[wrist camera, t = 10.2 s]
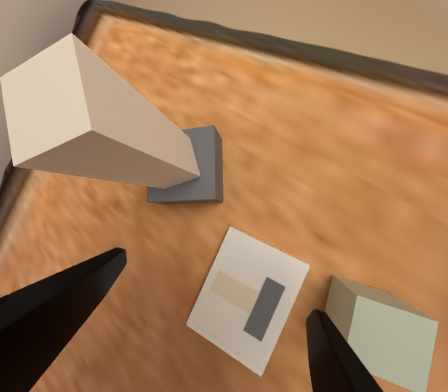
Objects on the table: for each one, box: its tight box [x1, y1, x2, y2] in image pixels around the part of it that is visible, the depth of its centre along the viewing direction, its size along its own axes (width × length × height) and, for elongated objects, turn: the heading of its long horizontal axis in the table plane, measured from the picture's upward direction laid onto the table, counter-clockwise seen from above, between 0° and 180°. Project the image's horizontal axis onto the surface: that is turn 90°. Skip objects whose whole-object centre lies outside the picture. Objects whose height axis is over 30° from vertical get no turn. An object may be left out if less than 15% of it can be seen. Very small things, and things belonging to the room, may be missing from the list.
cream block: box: [0, 33, 201, 189], centre depth 13 cm, size 4×4×12 cm
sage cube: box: [325, 275, 439, 392], centre depth 15 cm, size 5×5×5 cm
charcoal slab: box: [147, 126, 223, 204], centre depth 21 cm, size 8×8×4 cm
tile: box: [186, 226, 310, 377], centre depth 19 cm, size 12×9×1 cm
